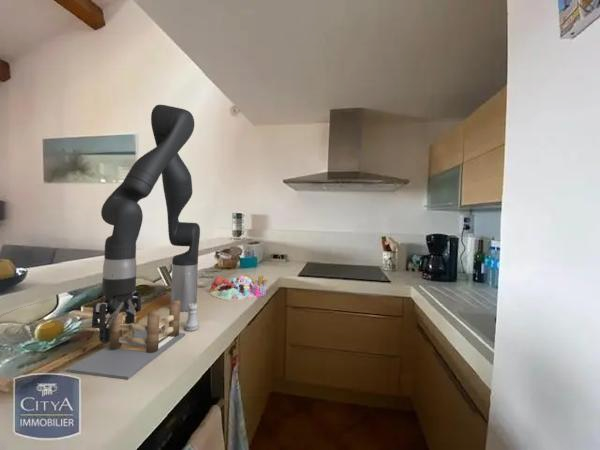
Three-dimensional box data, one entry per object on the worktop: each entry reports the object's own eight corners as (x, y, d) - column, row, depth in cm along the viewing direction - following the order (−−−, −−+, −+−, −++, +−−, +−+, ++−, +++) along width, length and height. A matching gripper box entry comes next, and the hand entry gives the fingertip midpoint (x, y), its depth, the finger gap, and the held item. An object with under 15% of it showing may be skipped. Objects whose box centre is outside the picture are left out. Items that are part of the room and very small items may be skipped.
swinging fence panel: (148, 346, 76) (149, 312, 76) (142, 351, 73) (143, 316, 73) (113, 343, 76) (114, 310, 76) (106, 348, 74) (107, 314, 73)
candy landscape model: (235, 285, 151) (236, 268, 151) (274, 292, 142) (275, 273, 142) (202, 296, 128) (203, 276, 128) (245, 305, 119) (246, 283, 119)
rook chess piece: (193, 325, 94) (194, 301, 94) (202, 328, 92) (203, 303, 92) (181, 329, 90) (182, 304, 90) (190, 332, 88) (191, 307, 88)
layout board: (139, 330, 88) (139, 328, 88) (185, 335, 86) (185, 332, 86) (66, 371, 64) (67, 368, 64) (127, 379, 62) (127, 376, 62)
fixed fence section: (172, 332, 86) (173, 300, 86) (180, 333, 86) (182, 300, 85) (143, 352, 73) (145, 314, 73) (153, 353, 73) (155, 315, 73)
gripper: (111, 281, 68) (109, 349, 68) (150, 271, 82) (148, 326, 82) (83, 279, 69) (81, 345, 69) (126, 269, 83) (124, 324, 83)
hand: (117, 335), depth 76 cm, fingers open, 8 cm apart
